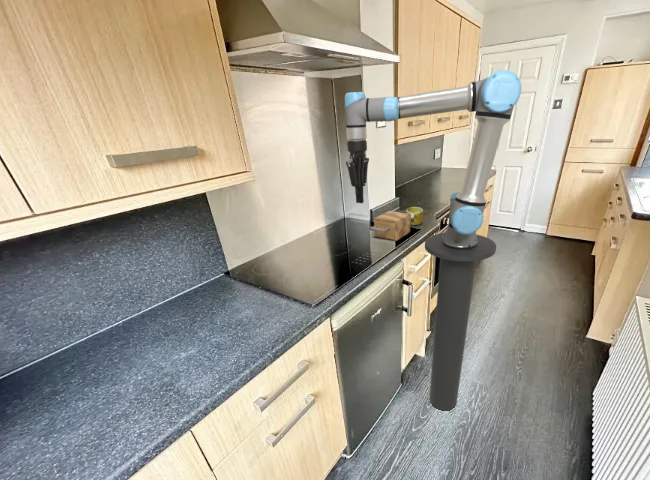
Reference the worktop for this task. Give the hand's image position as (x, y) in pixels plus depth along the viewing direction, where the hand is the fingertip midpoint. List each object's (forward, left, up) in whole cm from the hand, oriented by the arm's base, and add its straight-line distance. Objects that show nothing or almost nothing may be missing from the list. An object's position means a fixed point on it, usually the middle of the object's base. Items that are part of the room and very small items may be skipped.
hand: (359, 202), depth 131 cm
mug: (+29, -38, -23) cm, 53 cm away
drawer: (+15, -18, -22) cm, 32 cm away
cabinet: (+18, -21, -22) cm, 36 cm away
